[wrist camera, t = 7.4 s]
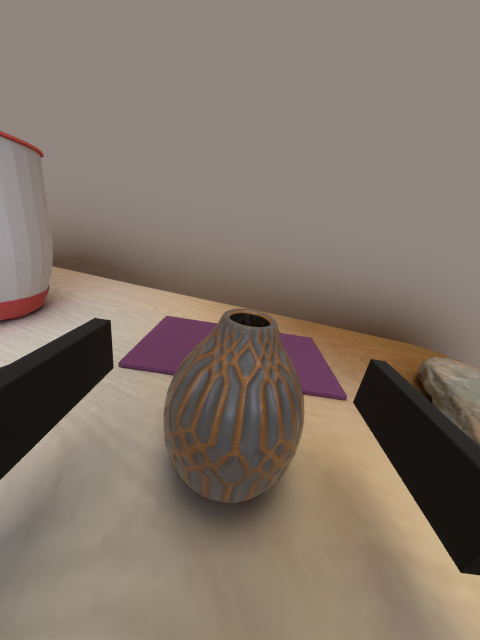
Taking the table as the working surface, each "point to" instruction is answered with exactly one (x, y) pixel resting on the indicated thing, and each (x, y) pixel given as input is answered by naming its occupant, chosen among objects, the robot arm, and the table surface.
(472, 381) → the long grey stone
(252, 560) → the table surface
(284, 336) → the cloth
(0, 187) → the citrus juicer
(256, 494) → the vase
